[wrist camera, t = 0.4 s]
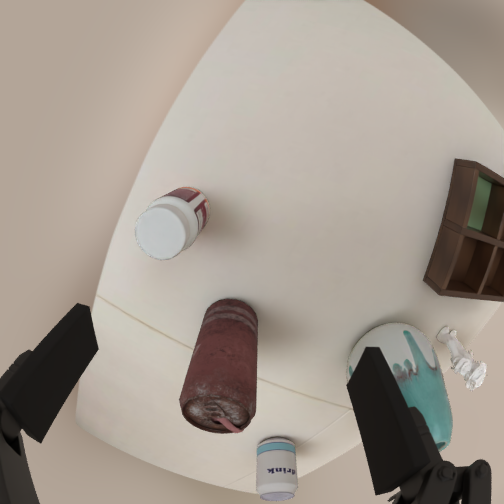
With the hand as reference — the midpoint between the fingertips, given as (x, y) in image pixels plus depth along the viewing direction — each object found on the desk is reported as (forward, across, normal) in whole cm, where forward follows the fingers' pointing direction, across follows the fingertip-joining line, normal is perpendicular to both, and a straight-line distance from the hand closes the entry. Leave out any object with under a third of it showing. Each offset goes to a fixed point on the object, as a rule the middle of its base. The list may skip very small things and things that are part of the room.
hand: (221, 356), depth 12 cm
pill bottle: (+17, -6, +2) cm, 18 cm away
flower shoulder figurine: (+17, +32, -10) cm, 38 cm away
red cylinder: (+17, 0, -10) cm, 20 cm away
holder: (+17, +30, +6) cm, 35 cm away
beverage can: (+17, +11, -38) cm, 43 cm away
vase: (+17, +20, -12) cm, 29 cm away
